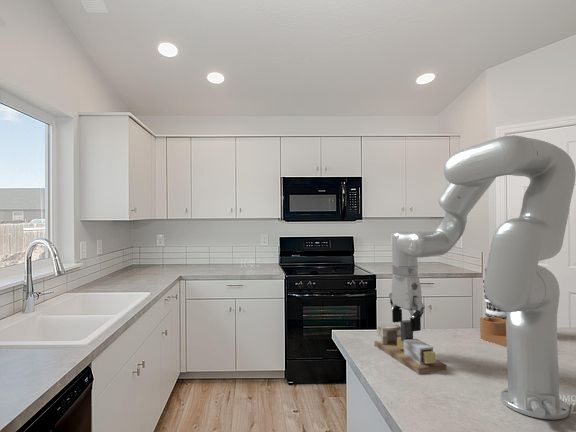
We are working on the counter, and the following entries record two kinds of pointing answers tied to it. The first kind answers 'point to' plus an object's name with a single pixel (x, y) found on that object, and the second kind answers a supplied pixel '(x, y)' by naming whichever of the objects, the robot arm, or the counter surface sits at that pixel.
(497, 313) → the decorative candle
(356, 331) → the counter surface
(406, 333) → the brass bolt with handle
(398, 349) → the sliding bolt latch
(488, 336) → the bracket
